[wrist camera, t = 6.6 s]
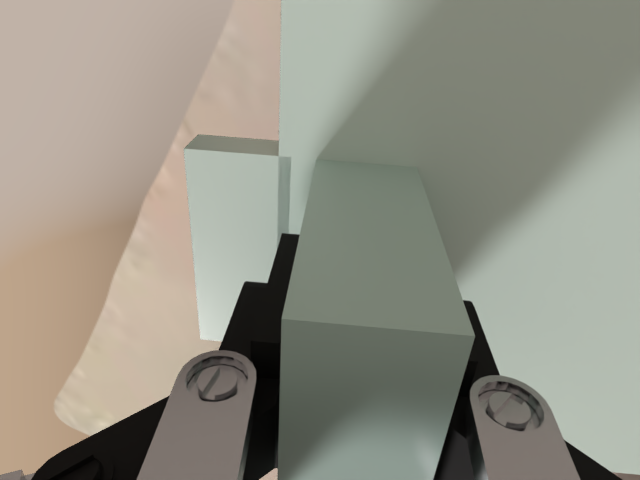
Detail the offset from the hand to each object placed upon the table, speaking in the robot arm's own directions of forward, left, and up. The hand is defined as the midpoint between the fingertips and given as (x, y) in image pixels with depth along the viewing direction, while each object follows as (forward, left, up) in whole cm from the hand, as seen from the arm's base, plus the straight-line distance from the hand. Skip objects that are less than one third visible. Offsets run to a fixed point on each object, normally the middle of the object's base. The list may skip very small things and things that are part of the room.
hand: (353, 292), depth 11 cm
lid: (-7, 0, -3) cm, 8 cm away
